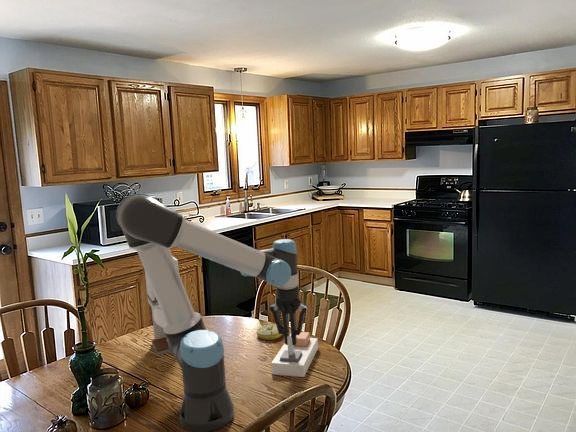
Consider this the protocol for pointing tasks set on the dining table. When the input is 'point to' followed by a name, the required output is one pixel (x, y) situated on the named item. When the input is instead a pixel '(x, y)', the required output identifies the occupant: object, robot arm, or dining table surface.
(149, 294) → the display case
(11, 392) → the dining table surface
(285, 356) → the charcoal key
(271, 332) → the decorated donut
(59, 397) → the dining table surface
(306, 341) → the terracotta key
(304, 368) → the key panel
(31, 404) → the dining table surface
